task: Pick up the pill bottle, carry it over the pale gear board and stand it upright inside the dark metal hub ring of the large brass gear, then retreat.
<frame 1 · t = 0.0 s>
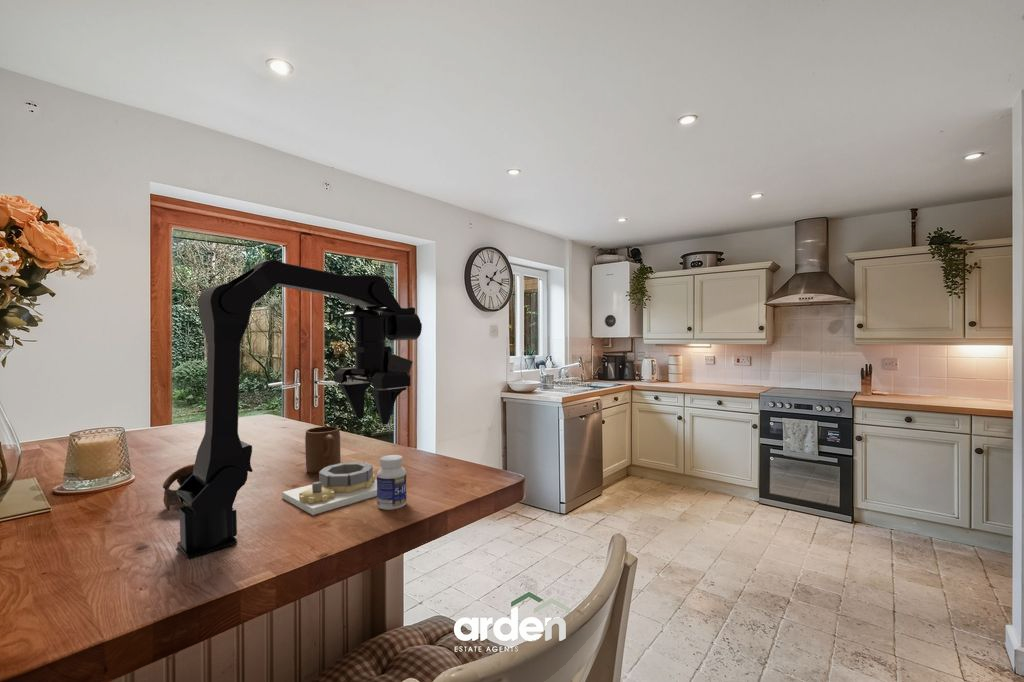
hand: (372, 421, 93), 15 cm above the kitchen island, fingers open, 9 cm apart
gear board: (337, 494, 94), on the kitchen island
pill bottle: (392, 506, 88), on the kitchen island
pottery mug: (194, 502, 92), on the kitchen island
mug: (326, 472, 110), on the kitchen island
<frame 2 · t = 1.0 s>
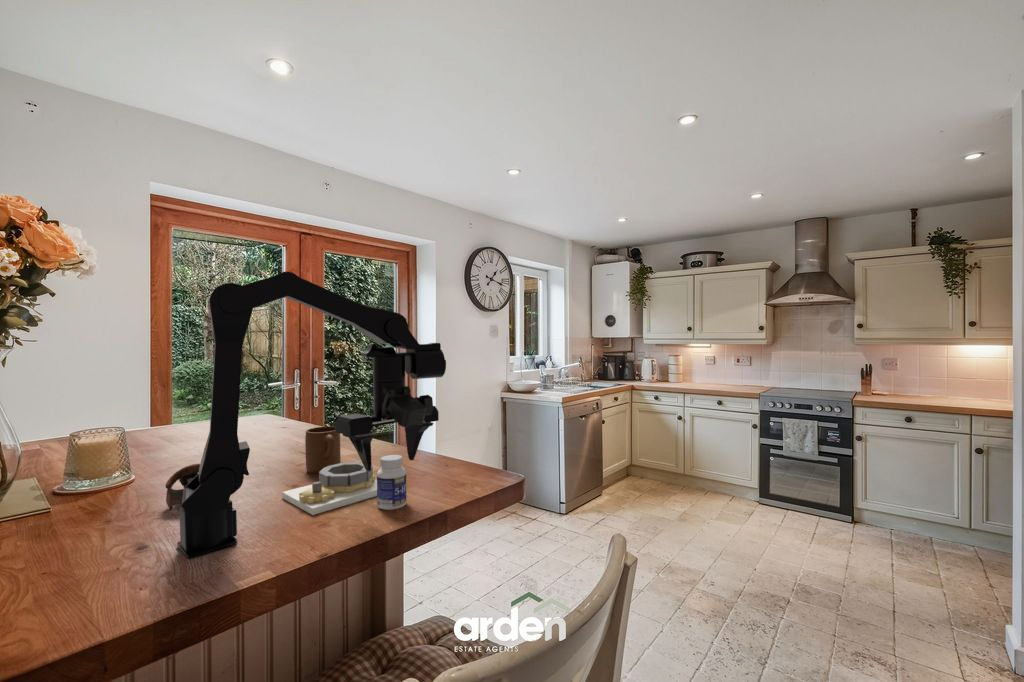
hand: (390, 465, 88), 7 cm above the kitchen island, fingers open, 9 cm apart
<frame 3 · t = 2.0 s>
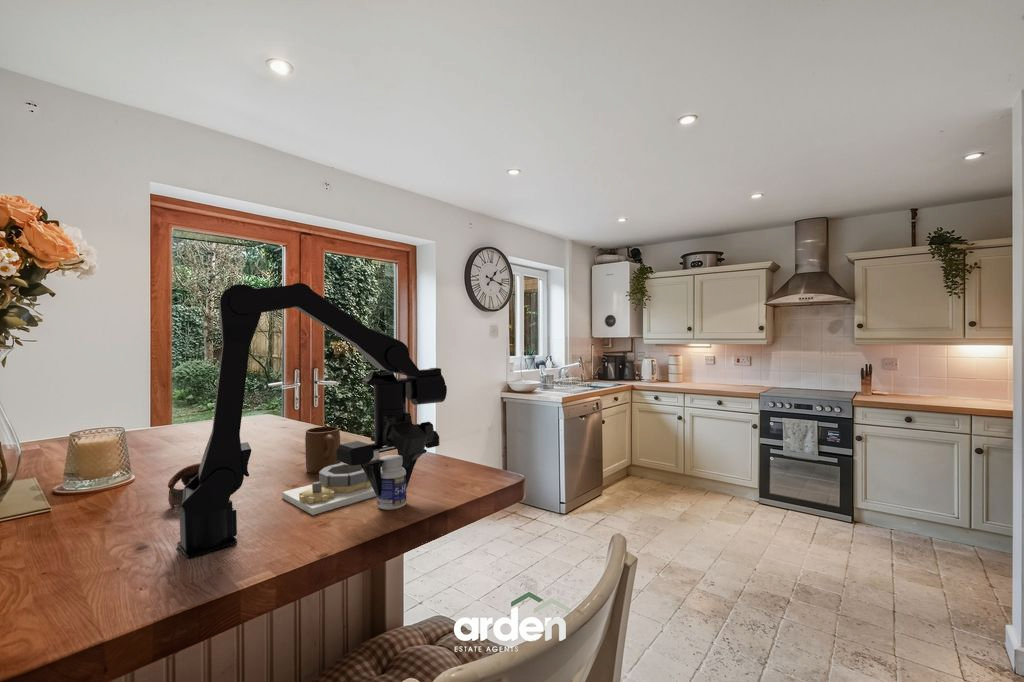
hand: (391, 491, 88), 3 cm above the kitchen island, fingers closed on pill bottle, 5 cm apart
pill bottle: (392, 506, 88), on the kitchen island, touching gripper
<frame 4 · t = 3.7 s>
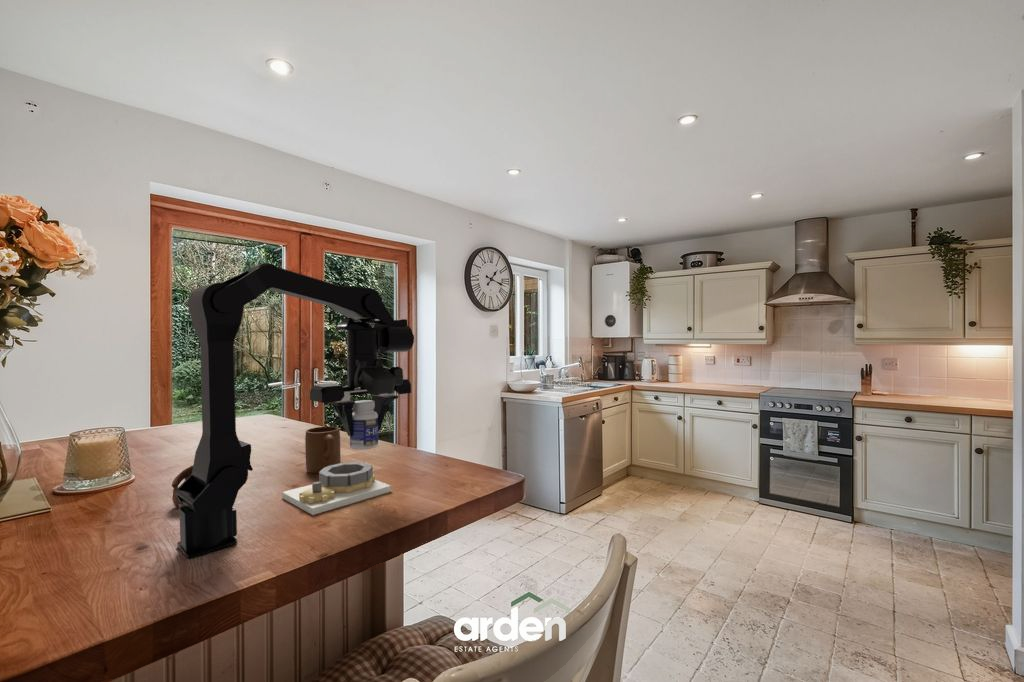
hand: (364, 433, 93), 12 cm above the kitchen island, fingers closed on pill bottle, 5 cm apart
pill bottle: (364, 448, 93), point 10 cm above the kitchen island, touching gripper
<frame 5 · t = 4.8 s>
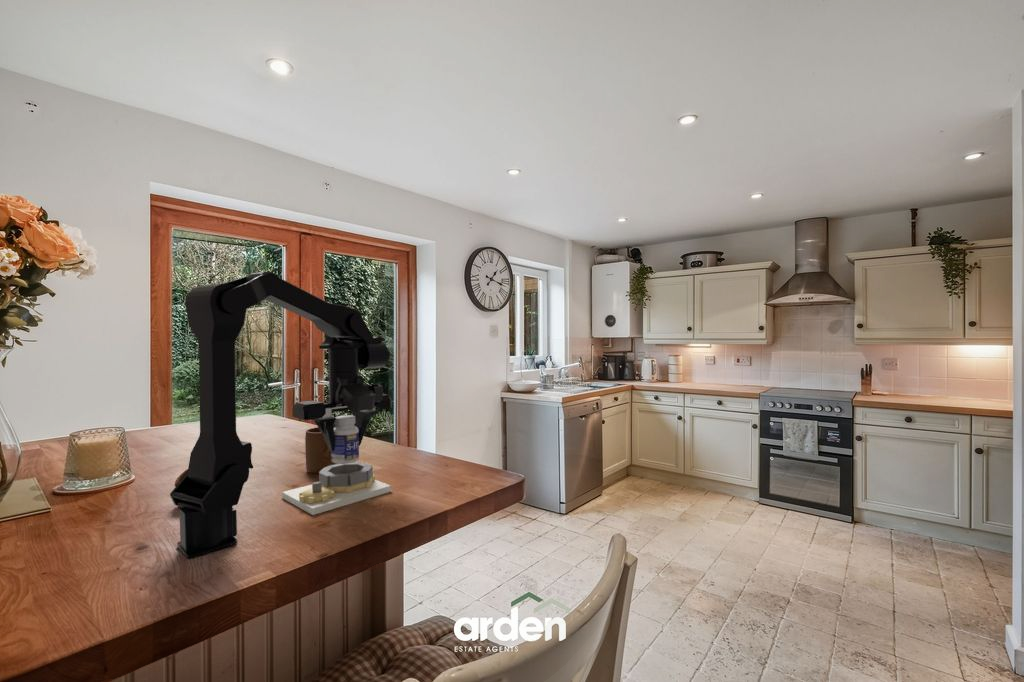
hand: (345, 448, 96), 9 cm above the kitchen island, fingers closed on pill bottle, 5 cm apart
pill bottle: (345, 461, 96), point 6 cm above the kitchen island, touching gripper
when the fingers open (6 cm above the kitchen island, at t = 5.6 s): pill bottle drops 1 cm, resting on gear board.
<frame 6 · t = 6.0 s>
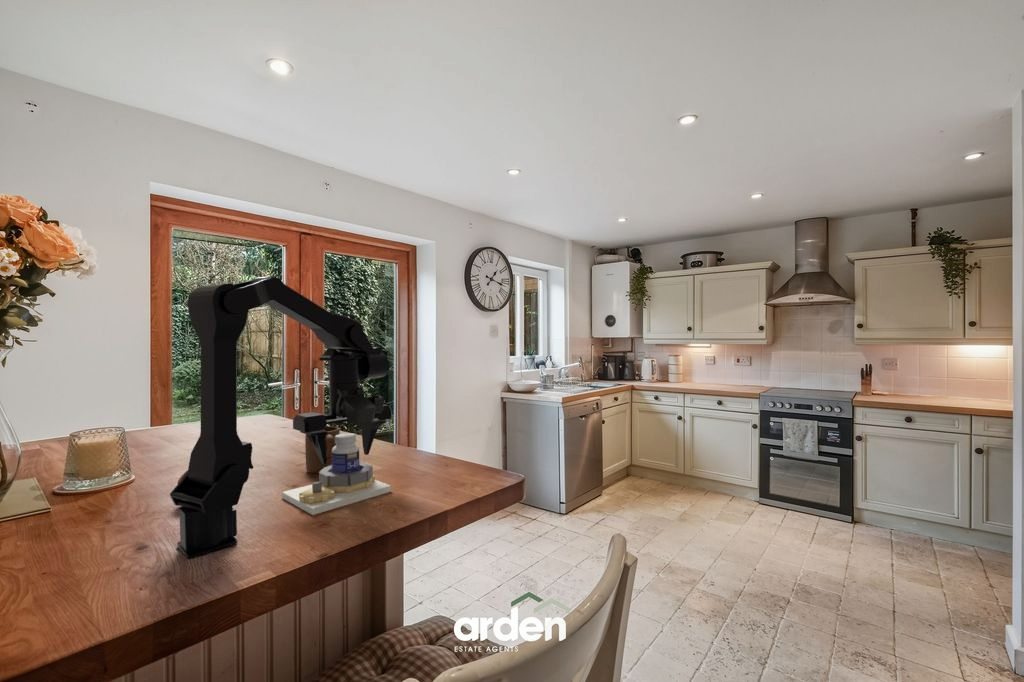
hand: (345, 459, 97), 6 cm above the kitchen island, fingers open, 9 cm apart
pill bottle: (346, 479, 97), point 2 cm above the kitchen island, touching gear board
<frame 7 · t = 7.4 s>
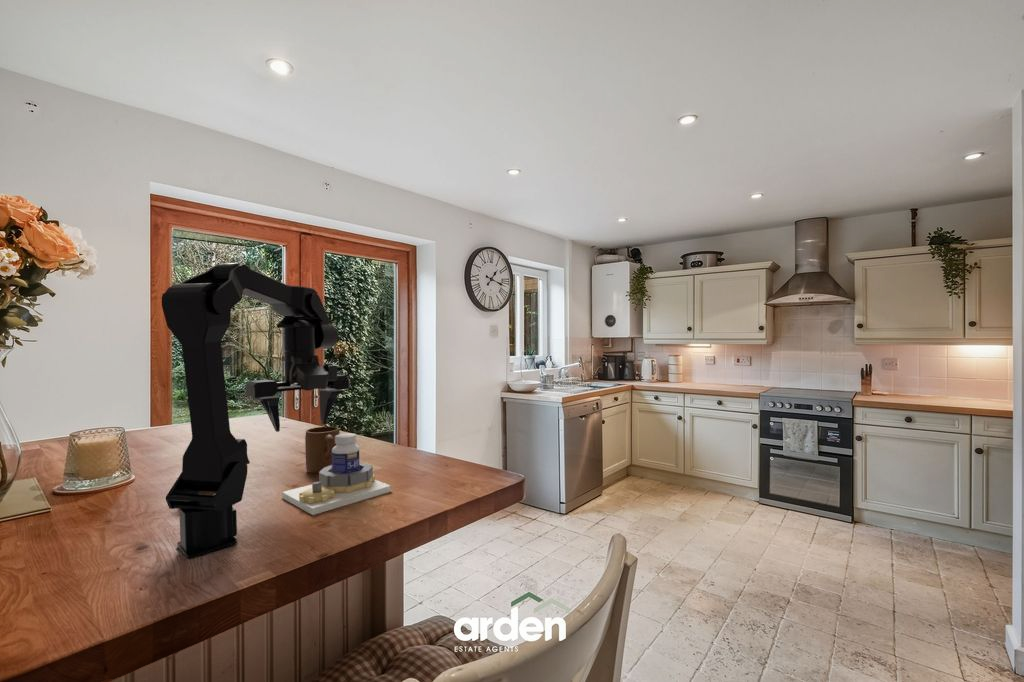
hand: (301, 427, 96), 13 cm above the kitchen island, fingers open, 9 cm apart
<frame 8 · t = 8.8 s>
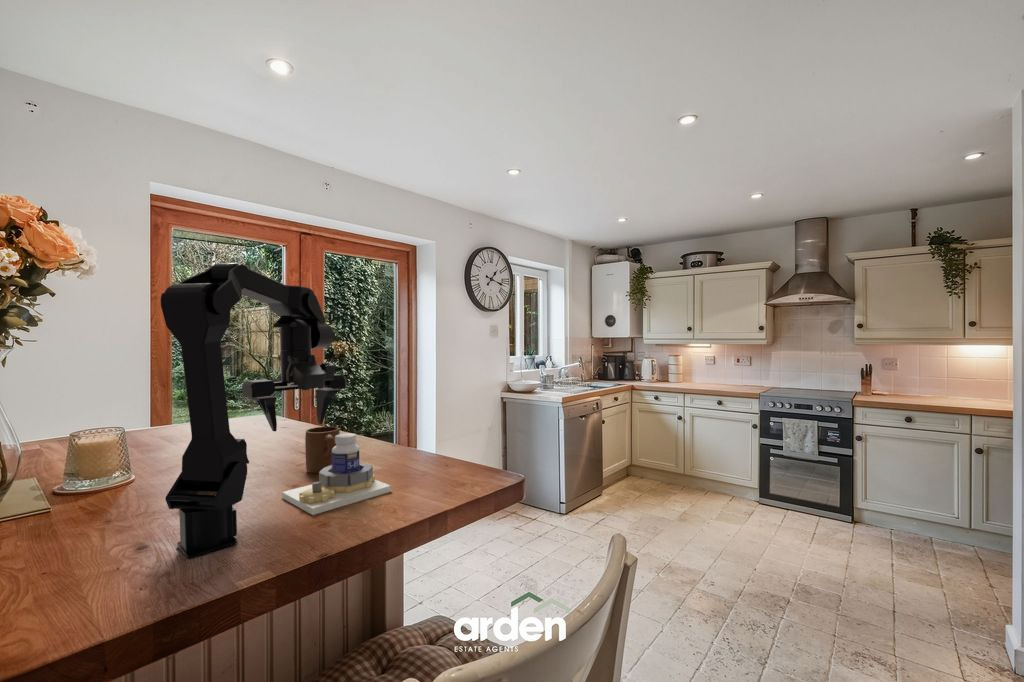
hand: (298, 427, 96), 13 cm above the kitchen island, fingers open, 9 cm apart
at the end: pill bottle 0.1 cm from the target spot on the gear board, point 2.2 cm above the gear board's base; pill bottle tilted 0°; the gripper is holding nothing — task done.
